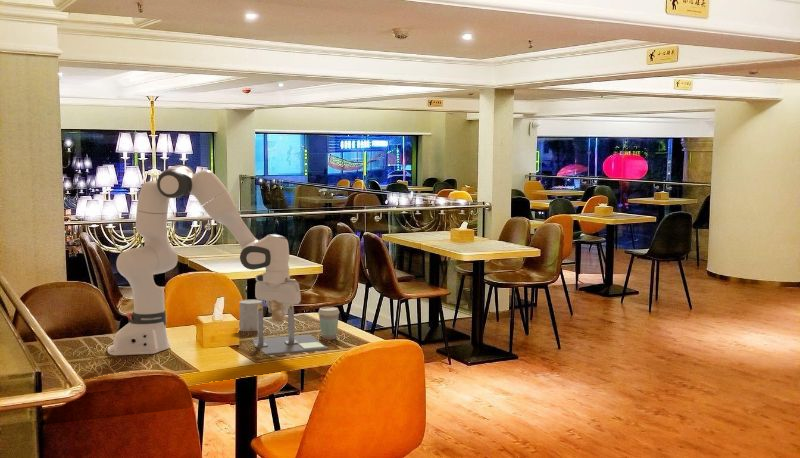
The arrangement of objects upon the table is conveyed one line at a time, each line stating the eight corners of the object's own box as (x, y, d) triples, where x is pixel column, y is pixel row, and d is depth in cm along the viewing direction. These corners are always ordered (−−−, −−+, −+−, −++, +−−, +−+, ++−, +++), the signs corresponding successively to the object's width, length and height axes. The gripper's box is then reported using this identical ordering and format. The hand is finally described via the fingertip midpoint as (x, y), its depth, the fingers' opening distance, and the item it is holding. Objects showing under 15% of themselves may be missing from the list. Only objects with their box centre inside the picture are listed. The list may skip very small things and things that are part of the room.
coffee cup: (341, 336, 336) (341, 306, 335) (337, 341, 328) (337, 311, 326) (320, 335, 337) (320, 306, 336) (316, 340, 328) (316, 310, 327)
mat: (265, 355, 304) (265, 353, 304) (251, 341, 326) (251, 339, 326) (327, 349, 313) (327, 347, 313) (310, 336, 335) (310, 334, 335)
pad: (304, 349, 311) (304, 348, 311) (298, 344, 318) (298, 343, 318) (324, 347, 314) (324, 346, 314) (318, 342, 321) (318, 341, 321)
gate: (256, 347, 313) (255, 305, 311) (253, 345, 317) (253, 303, 315) (298, 344, 319) (298, 302, 317) (295, 341, 323) (295, 300, 321)
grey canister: (235, 332, 342) (235, 302, 341) (246, 327, 351) (245, 298, 350) (256, 333, 340) (256, 304, 338) (266, 328, 349) (266, 299, 347)
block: (271, 321, 312) (271, 300, 311) (274, 319, 316) (274, 298, 315) (282, 321, 312) (282, 300, 311) (284, 319, 316) (284, 298, 315)
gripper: (304, 278, 309) (304, 315, 310) (263, 273, 320) (264, 309, 322) (293, 281, 304) (293, 318, 305) (252, 276, 315) (252, 311, 317)
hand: (278, 313), depth 314 cm, fingers closed on block, 5 cm apart
